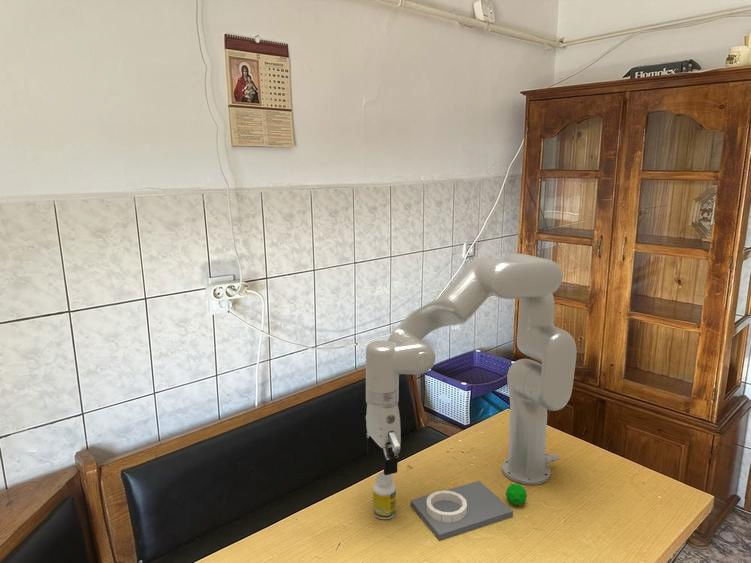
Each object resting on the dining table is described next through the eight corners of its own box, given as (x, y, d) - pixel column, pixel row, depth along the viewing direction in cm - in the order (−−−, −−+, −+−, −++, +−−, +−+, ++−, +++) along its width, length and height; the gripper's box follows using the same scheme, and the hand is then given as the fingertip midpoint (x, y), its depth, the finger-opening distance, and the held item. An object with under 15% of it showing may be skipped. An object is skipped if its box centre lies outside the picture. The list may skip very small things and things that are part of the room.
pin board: (479, 485, 139) (479, 473, 138) (512, 516, 127) (513, 503, 126) (410, 505, 132) (410, 492, 131) (439, 540, 119) (439, 526, 118)
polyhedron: (503, 497, 134) (503, 480, 133) (522, 496, 134) (522, 479, 133) (509, 510, 129) (510, 492, 128) (529, 508, 130) (530, 491, 129)
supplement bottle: (393, 521, 126) (393, 484, 124) (371, 519, 127) (370, 481, 125) (397, 507, 131) (397, 471, 129) (376, 505, 132) (375, 469, 130)
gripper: (414, 406, 116) (412, 478, 120) (381, 379, 132) (381, 443, 135) (382, 412, 113) (382, 485, 117) (353, 383, 129) (353, 449, 132)
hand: (381, 463), depth 126 cm, fingers open, 9 cm apart
